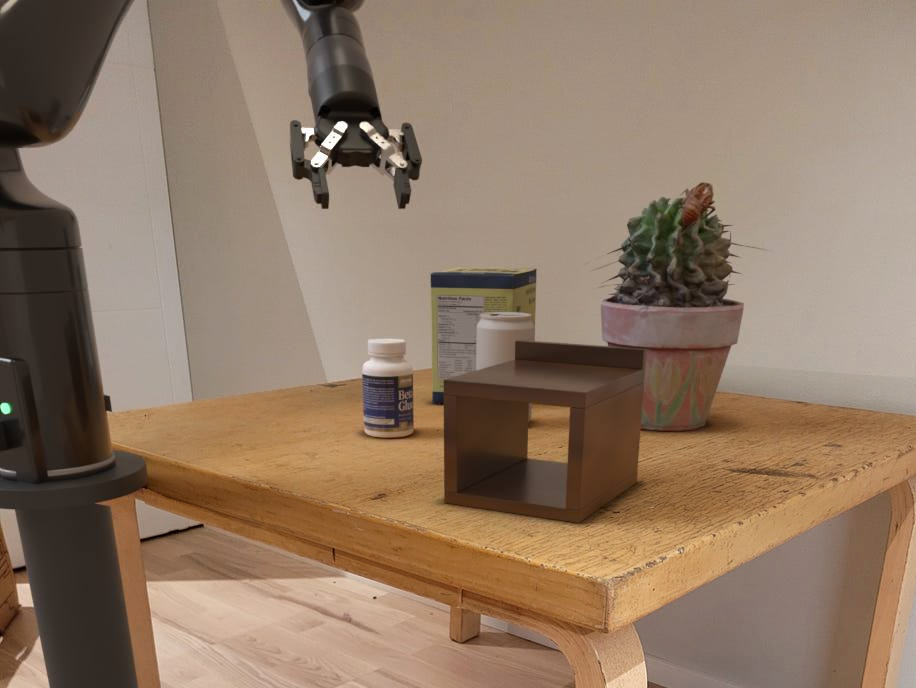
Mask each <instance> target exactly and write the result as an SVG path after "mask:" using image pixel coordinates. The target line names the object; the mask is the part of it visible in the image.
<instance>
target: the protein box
mask: <svg viewBox="0 0 916 688" xmlns="http://www.w3.org/2000/svg"><path fill="white" fill-rule="evenodd" d="M537 270H538V269H537V268H522V267H521V268H520V267H519V268H518V267H489V266H488V267H487V266H486V267H485V266H459V267H456V268H451V269H445V270H441V271H435V272H432V273H430V313H431V314H430V315H431V316H430V318H431V319H430V321H431V324H430V325H431V386H432V387H431V388H432V389H431V393H432V396H431V398H432V404H439V405H444V380H445V379H448V378H452V377H455V376H459V375H462V374H466V373H469V372H473V371H476V339H477V324H478V323H479V321H480V320H481V317H480V314H481V313H488V312H518V313H527V314H531V322H532V323H533V325H534V327H535V328H534V341H536V308H537V306H536V305H537Z"/></svg>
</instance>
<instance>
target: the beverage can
mask: <svg viewBox="0 0 916 688" xmlns="http://www.w3.org/2000/svg"><path fill="white" fill-rule="evenodd" d="M480 317H481V320H480V321H479V323H478V324H477V339H476V370H480V369H483V368H487V367H490V366H494V365H498V364H501V363H505V362H508V361H512V360H515V341H517V340H526V341H534V328H535V329H536V326H535V327H534V325H533V323H532V322H531V314H527V313H518V312H488V313H481V314H480ZM532 409H533V404H531V403H529V419H528V421H530V420H531V419H532V411H533V410H532Z"/></svg>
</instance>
